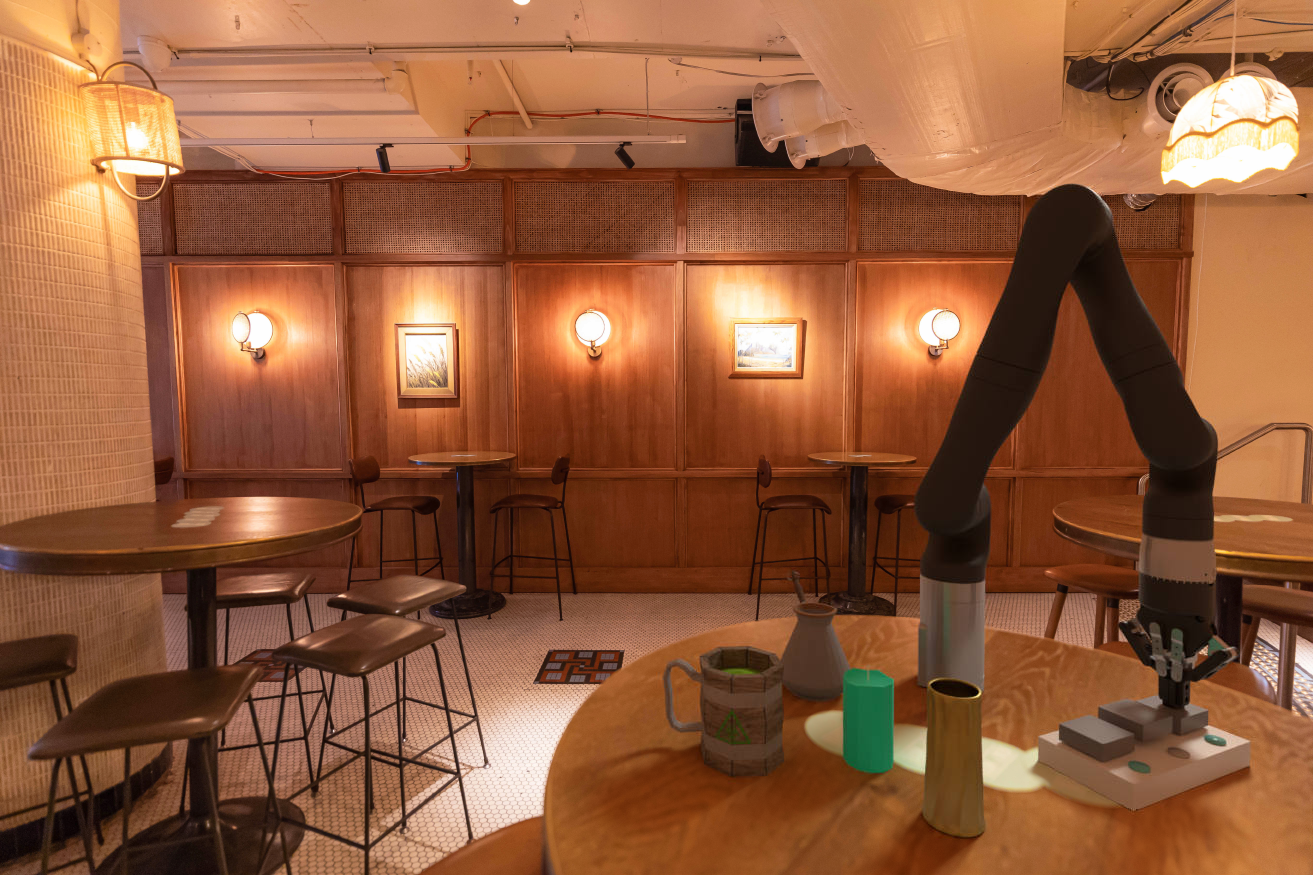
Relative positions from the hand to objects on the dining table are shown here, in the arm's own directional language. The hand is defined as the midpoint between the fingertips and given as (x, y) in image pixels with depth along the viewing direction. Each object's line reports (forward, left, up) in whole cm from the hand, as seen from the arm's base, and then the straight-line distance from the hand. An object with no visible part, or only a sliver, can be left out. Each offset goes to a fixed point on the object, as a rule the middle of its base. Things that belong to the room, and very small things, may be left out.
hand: (1174, 706), depth 82 cm
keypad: (-4, -6, -5) cm, 9 cm away
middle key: (-5, -6, -1) cm, 8 cm away
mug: (-51, -26, -6) cm, 58 cm away
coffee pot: (-47, +1, -6) cm, 47 cm away
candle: (-34, -20, -6) cm, 40 cm away
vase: (-24, -28, -6) cm, 37 cm away
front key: (-10, -11, -2) cm, 15 cm away
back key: (0, 0, -2) cm, 2 cm away
